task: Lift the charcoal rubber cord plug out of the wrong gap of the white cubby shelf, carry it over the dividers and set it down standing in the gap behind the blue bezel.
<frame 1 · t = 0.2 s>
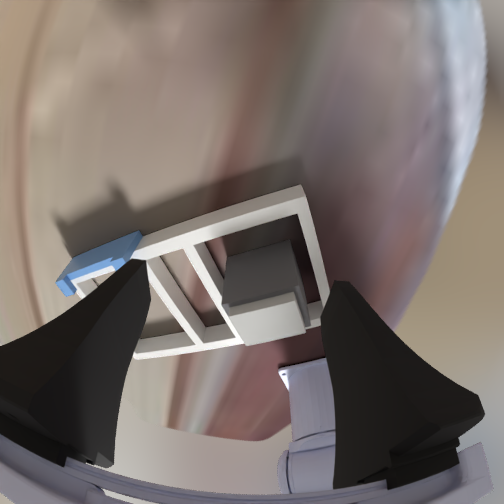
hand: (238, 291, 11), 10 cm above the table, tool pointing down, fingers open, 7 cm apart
white cubby shelf: (208, 284, 24), on the table
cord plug: (265, 268, 23), resting in white cubby shelf
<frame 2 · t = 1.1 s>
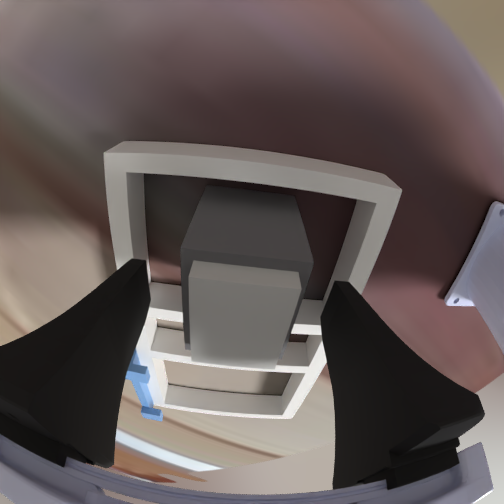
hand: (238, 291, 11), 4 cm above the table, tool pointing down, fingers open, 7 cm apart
white cubby shelf: (235, 309, 17), on the table
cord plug: (244, 236, 14), resting in white cubby shelf
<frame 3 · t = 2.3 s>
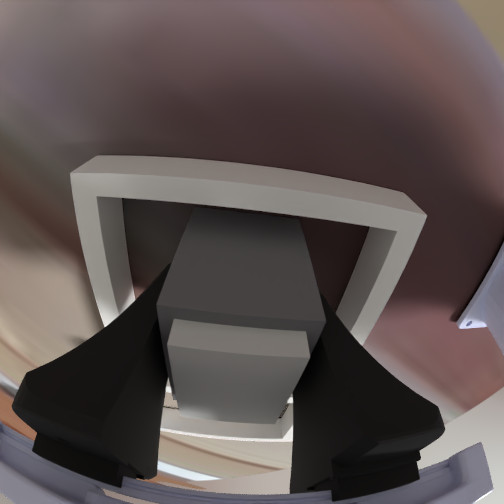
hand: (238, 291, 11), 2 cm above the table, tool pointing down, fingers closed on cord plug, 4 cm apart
white cubby shelf: (230, 340, 15), on the table
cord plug: (240, 265, 12), resting in white cubby shelf, touching gripper
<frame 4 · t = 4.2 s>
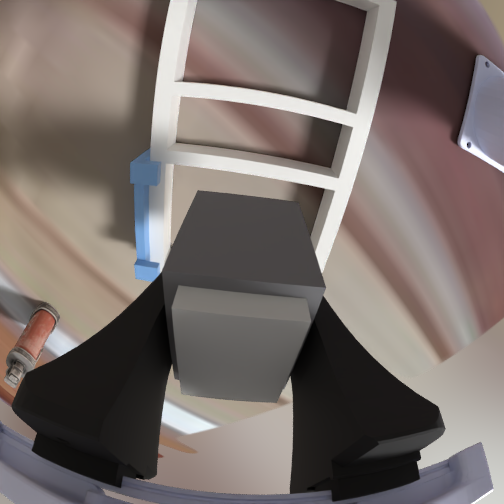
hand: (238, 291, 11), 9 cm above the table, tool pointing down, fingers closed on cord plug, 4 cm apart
white cubby shelf: (261, 113, 16), on the table
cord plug: (241, 249, 12), point 7 cm above the table, touching gripper
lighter: (45, 318, 27), on the table
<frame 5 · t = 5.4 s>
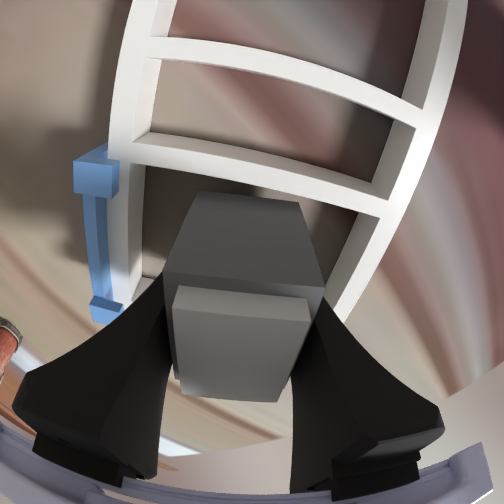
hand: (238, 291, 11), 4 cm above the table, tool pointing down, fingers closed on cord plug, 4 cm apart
white cubby shelf: (280, 94, 10), on the table
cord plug: (241, 249, 12), point 1 cm above the table, touching gripper
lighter: (8, 334, 21), on the table
when the fingers open (3 cm above the table, at t = 6.4 s): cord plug stays where it is, resting in white cubby shelf.
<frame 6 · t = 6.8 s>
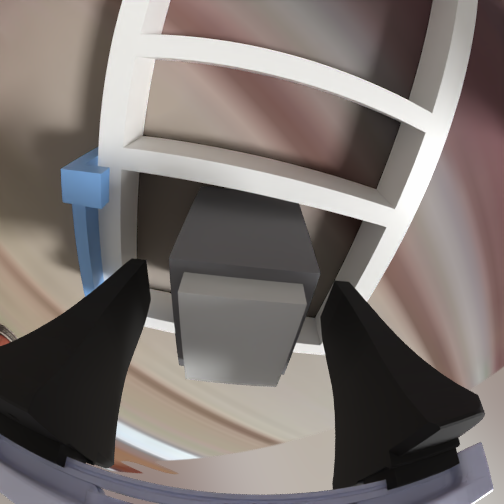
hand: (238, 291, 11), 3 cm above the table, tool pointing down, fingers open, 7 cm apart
white cubby shelf: (282, 95, 9), on the table
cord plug: (242, 241, 13), resting in white cubby shelf
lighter: (5, 340, 20), on the table
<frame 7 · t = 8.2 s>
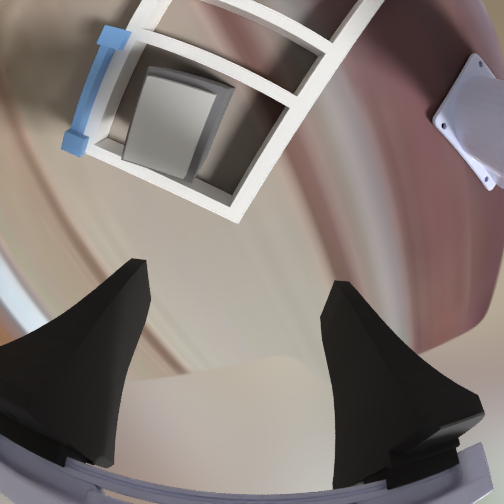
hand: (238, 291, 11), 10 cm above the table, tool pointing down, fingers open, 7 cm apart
white cubby shelf: (242, 25, 13), on the table
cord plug: (191, 112, 16), resting in white cubby shelf
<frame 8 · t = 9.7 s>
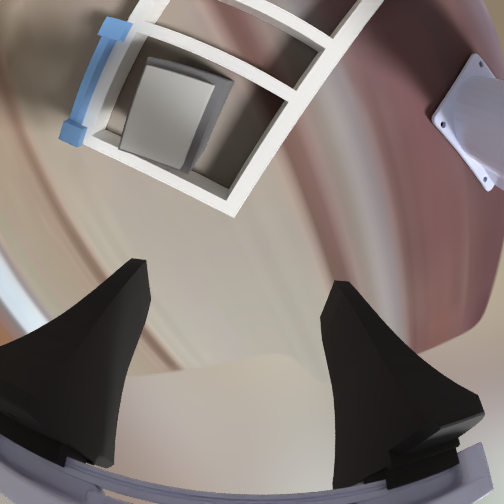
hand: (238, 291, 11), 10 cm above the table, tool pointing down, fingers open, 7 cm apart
white cubby shelf: (243, 20, 13), on the table
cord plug: (190, 105, 16), resting in white cubby shelf
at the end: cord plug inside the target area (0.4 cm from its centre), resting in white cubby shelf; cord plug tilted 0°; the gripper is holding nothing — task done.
